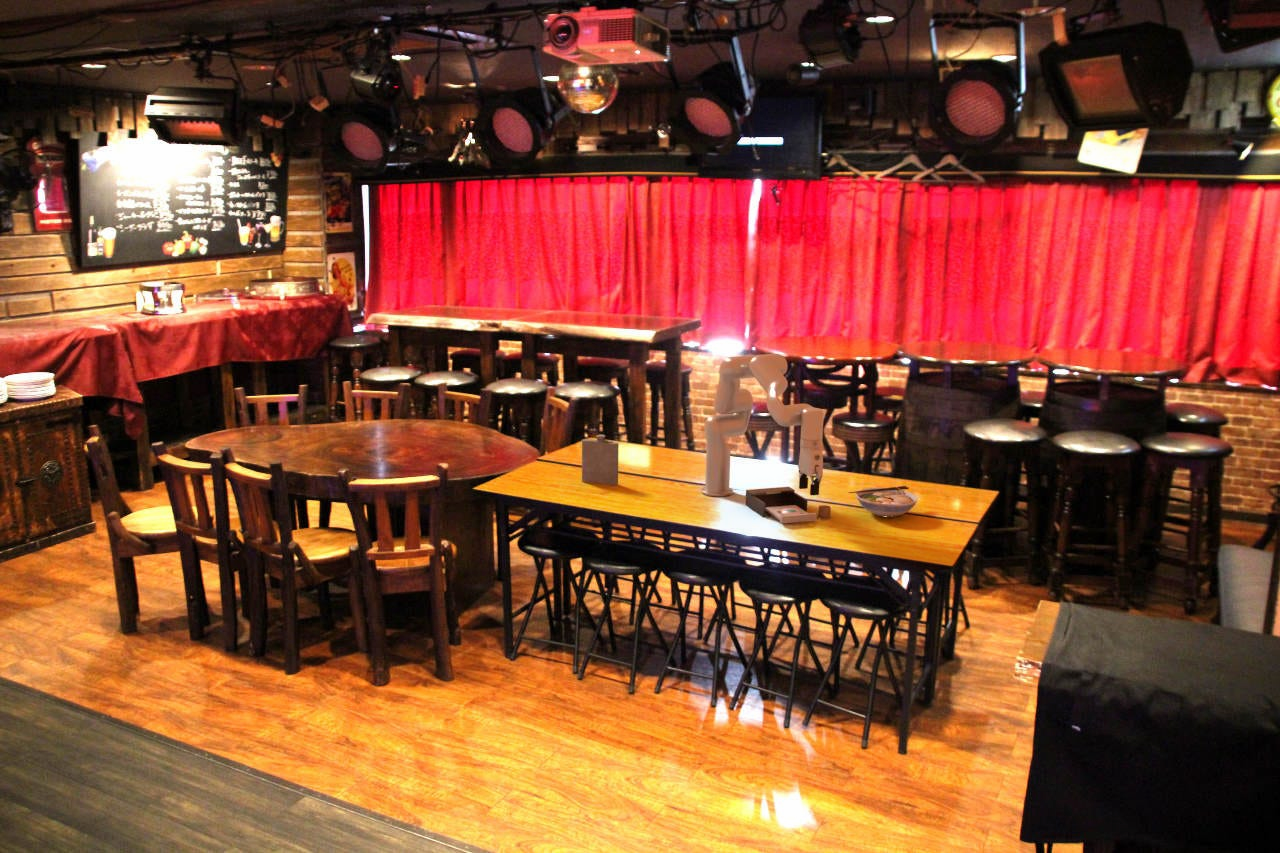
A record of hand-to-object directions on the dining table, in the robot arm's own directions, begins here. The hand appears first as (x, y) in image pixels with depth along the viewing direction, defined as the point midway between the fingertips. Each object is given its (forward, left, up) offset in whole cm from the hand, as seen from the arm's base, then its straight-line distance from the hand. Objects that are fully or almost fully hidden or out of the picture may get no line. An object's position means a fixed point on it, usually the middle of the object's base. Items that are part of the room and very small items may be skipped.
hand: (808, 491), depth 369 cm
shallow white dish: (-13, 0, -13) cm, 18 cm away
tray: (-14, 0, -13) cm, 19 cm away
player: (-26, 0, -14) cm, 29 cm away
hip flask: (-79, -54, -14) cm, 97 cm away
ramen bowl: (-9, +37, -14) cm, 41 cm away
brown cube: (-12, +13, -14) cm, 23 cm away
